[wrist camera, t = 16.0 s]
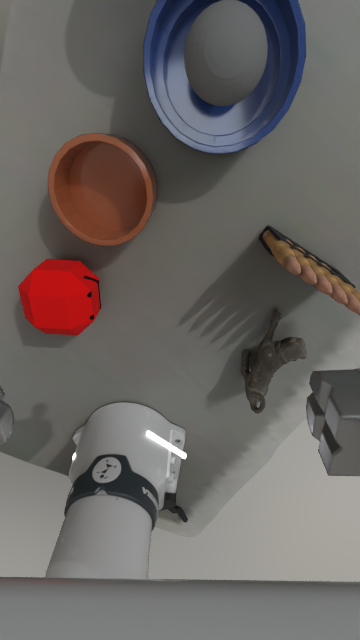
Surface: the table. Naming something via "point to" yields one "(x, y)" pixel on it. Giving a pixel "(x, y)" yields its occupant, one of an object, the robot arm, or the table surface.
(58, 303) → the ball
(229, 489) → the table surface
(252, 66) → the light bulb
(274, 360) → the dog figurine
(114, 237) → the terracotta dish
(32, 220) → the table surface
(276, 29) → the blue bowl
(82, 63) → the table surface
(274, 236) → the ammunition clip
